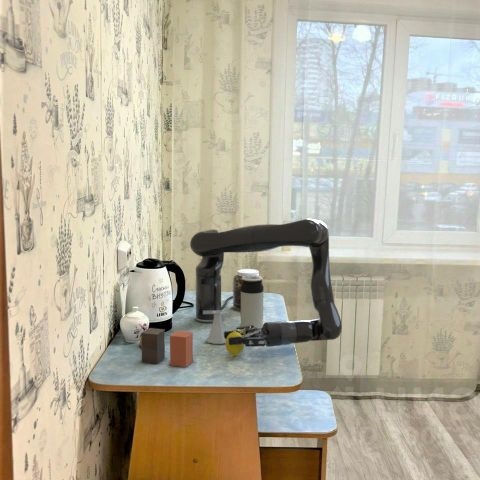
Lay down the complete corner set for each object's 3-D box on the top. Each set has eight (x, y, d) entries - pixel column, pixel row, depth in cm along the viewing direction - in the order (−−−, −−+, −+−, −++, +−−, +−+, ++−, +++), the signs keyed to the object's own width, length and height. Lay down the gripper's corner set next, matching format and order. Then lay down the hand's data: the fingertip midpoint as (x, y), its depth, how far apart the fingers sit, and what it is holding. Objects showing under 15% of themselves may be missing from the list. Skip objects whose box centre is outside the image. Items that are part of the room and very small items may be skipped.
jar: (266, 305, 241) (266, 269, 238) (257, 313, 229) (258, 275, 227) (238, 303, 243) (238, 267, 241) (228, 310, 232) (228, 273, 230)
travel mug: (252, 331, 207) (253, 281, 204) (235, 327, 211) (236, 277, 208) (267, 326, 213) (268, 277, 210) (251, 322, 218) (251, 274, 215)
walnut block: (149, 356, 180) (149, 328, 179) (164, 358, 179) (164, 329, 178) (141, 362, 176) (141, 332, 174) (157, 364, 175) (156, 334, 173)
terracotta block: (177, 359, 178) (177, 330, 177) (192, 361, 177) (192, 332, 176) (170, 365, 174) (169, 335, 172) (186, 367, 173) (185, 337, 171)
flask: (224, 345, 192) (224, 315, 190) (203, 343, 193) (203, 313, 192) (231, 338, 199) (232, 309, 197) (211, 336, 200) (211, 307, 199)
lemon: (225, 353, 185) (225, 328, 184) (243, 353, 185) (244, 328, 184) (225, 359, 179) (225, 334, 178) (243, 359, 180) (243, 333, 179)
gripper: (272, 315, 192) (221, 319, 187) (287, 328, 179) (232, 333, 173) (272, 337, 194) (221, 342, 188) (286, 352, 180) (232, 358, 174)
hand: (226, 338), depth 181 cm, fingers closed on lemon, 5 cm apart
